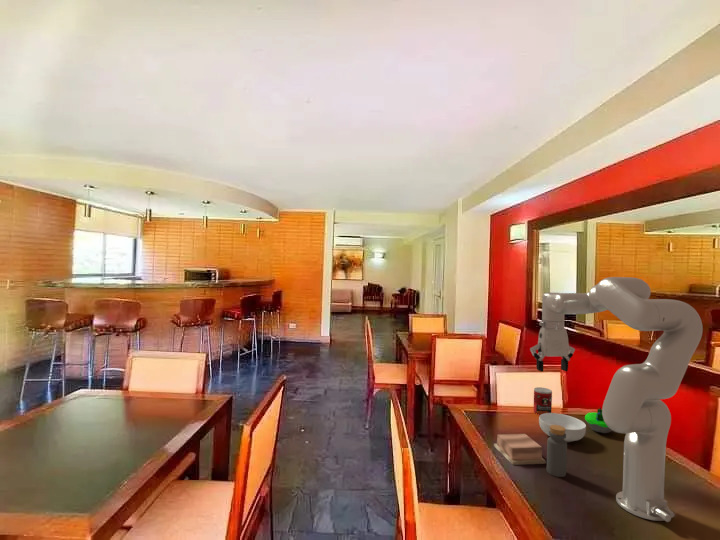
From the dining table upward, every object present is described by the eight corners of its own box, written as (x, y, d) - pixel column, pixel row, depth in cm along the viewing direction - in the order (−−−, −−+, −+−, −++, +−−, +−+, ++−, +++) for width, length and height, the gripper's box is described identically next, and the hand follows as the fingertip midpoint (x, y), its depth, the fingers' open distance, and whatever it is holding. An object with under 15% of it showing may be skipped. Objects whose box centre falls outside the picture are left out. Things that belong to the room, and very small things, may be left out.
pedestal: (545, 463, 136) (545, 449, 136) (512, 464, 134) (513, 450, 134) (523, 445, 150) (524, 432, 150) (493, 446, 148) (494, 432, 148)
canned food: (536, 415, 180) (536, 391, 180) (531, 409, 188) (532, 386, 188) (553, 417, 179) (554, 393, 179) (548, 410, 187) (549, 387, 187)
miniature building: (617, 440, 156) (618, 413, 156) (583, 432, 163) (585, 406, 162) (616, 429, 167) (617, 404, 166) (584, 422, 173) (586, 398, 172)
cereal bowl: (565, 450, 146) (566, 431, 146) (529, 433, 161) (529, 416, 161) (595, 443, 153) (596, 425, 153) (557, 426, 168) (558, 410, 168)
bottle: (568, 478, 126) (570, 432, 126) (549, 476, 128) (550, 430, 127) (563, 469, 132) (564, 424, 132) (544, 467, 133) (545, 423, 133)
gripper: (536, 326, 143) (535, 373, 143) (581, 326, 145) (580, 373, 145) (526, 323, 151) (525, 368, 151) (568, 324, 153) (567, 368, 153)
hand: (552, 370), depth 148 cm, fingers open, 9 cm apart
